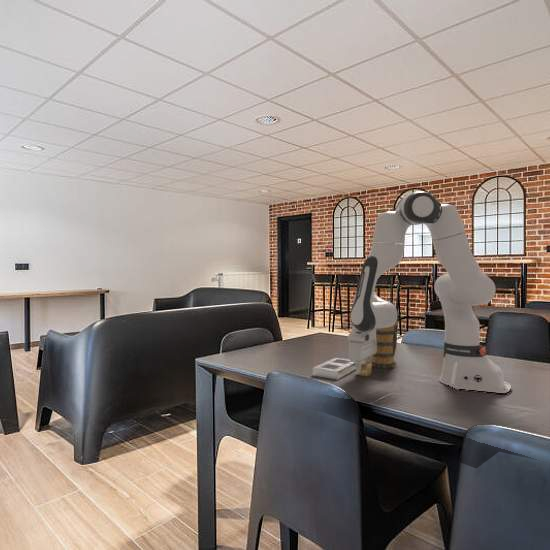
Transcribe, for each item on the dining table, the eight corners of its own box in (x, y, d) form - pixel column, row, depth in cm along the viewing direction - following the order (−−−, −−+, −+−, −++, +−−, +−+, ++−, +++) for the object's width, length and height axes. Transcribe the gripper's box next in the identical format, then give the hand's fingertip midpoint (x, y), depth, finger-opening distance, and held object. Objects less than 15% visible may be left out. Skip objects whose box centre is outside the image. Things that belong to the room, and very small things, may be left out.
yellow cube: (371, 373, 157) (371, 362, 157) (367, 376, 153) (367, 364, 153) (360, 372, 159) (360, 360, 159) (355, 374, 155) (356, 362, 155)
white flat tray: (358, 368, 165) (358, 360, 164) (337, 379, 148) (337, 371, 148) (335, 364, 170) (335, 357, 170) (312, 375, 153) (312, 367, 153)
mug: (359, 365, 170) (360, 317, 170) (383, 359, 181) (384, 314, 181) (386, 371, 160) (386, 320, 160) (409, 364, 172) (410, 317, 171)
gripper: (365, 329, 166) (365, 363, 166) (345, 336, 149) (345, 374, 149) (381, 330, 163) (380, 365, 163) (362, 338, 145) (362, 376, 146)
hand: (363, 369), depth 156 cm, fingers open, 8 cm apart
